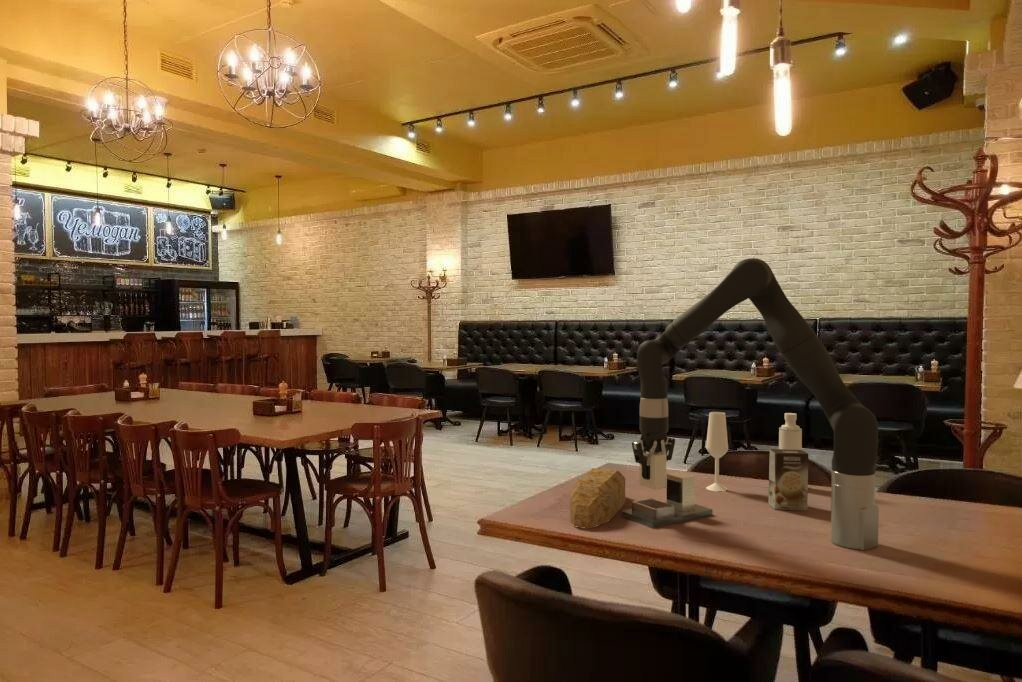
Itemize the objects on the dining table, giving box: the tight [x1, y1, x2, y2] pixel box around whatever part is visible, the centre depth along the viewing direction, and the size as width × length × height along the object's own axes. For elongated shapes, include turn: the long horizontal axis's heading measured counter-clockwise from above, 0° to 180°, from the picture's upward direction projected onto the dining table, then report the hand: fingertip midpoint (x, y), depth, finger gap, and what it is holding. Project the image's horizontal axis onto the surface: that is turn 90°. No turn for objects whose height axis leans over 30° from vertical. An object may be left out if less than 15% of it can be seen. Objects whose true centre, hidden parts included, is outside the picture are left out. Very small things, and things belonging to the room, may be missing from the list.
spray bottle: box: [778, 412, 803, 451], centre depth 215 cm, size 7×7×25 cm
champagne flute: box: [705, 411, 729, 492], centre depth 213 cm, size 7×7×24 cm
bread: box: [569, 467, 626, 529], centre depth 190 cm, size 36×11×10 cm, turn 158°
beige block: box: [638, 451, 667, 491], centre depth 181 cm, size 5×6×9 cm
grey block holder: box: [621, 471, 713, 529], centre depth 184 cm, size 12×22×10 cm, turn 121°
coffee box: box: [767, 448, 810, 511], centre depth 192 cm, size 9×6×16 cm
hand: (653, 477), depth 181 cm, fingers closed on beige block, 4 cm apart
